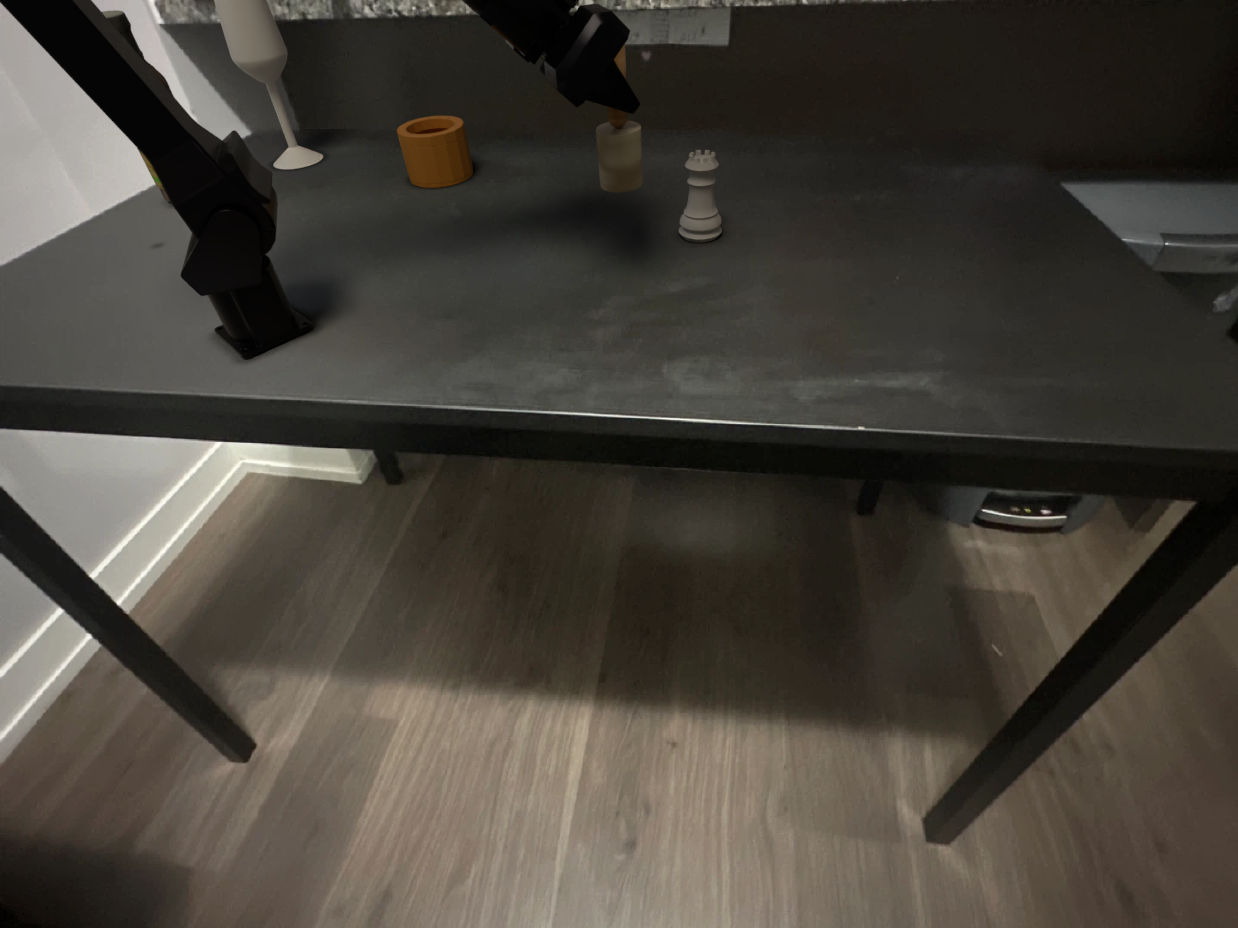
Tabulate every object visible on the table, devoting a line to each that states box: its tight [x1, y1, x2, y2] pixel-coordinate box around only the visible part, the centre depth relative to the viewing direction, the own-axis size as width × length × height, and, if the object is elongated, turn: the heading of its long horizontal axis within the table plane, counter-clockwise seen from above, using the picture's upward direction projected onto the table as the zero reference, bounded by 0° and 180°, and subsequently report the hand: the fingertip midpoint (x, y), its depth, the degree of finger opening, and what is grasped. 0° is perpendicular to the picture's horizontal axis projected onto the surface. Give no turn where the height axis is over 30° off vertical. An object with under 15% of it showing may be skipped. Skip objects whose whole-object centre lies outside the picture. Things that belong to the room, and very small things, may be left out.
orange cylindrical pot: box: [396, 115, 474, 189], centre depth 85 cm, size 8×8×6 cm
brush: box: [595, 43, 644, 194], centre depth 59 cm, size 4×4×13 cm
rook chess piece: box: [678, 149, 723, 243], centre depth 68 cm, size 4×4×8 cm
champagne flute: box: [213, 0, 324, 170], centre depth 87 cm, size 7×7×24 cm
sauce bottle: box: [101, 9, 174, 203], centre depth 80 cm, size 6×6×20 cm
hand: (632, 105), depth 59 cm, fingers closed on brush, 2 cm apart
